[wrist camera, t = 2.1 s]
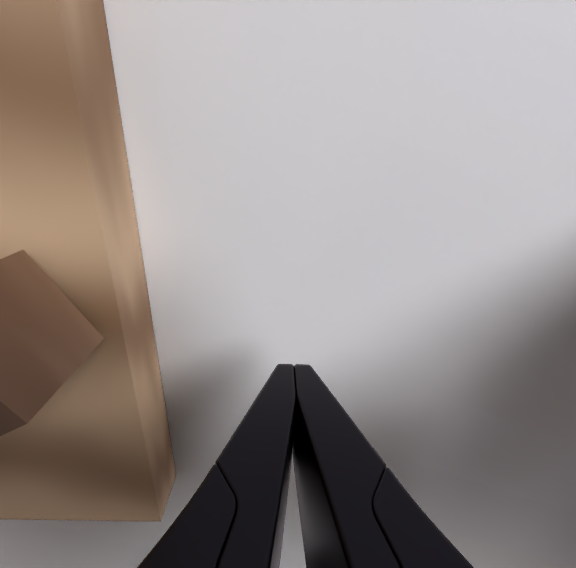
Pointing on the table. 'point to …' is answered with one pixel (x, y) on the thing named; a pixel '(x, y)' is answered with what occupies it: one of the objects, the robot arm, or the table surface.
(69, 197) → the stool seat
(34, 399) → the stool leg
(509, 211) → the table surface
